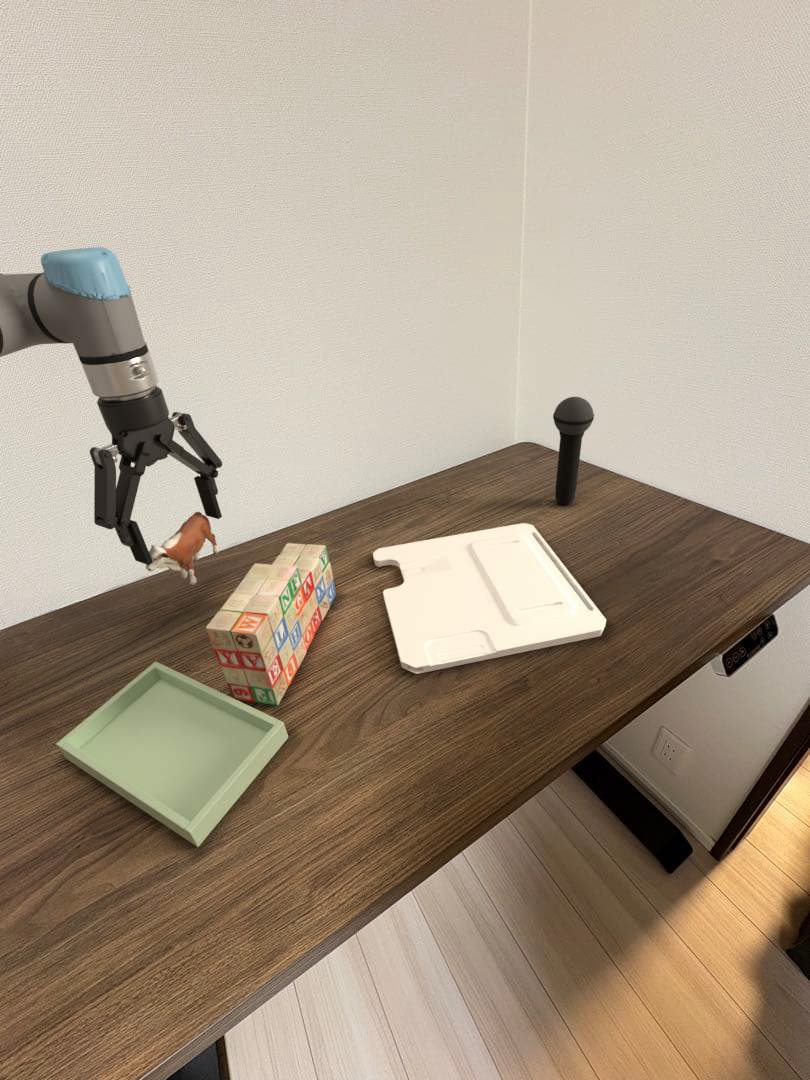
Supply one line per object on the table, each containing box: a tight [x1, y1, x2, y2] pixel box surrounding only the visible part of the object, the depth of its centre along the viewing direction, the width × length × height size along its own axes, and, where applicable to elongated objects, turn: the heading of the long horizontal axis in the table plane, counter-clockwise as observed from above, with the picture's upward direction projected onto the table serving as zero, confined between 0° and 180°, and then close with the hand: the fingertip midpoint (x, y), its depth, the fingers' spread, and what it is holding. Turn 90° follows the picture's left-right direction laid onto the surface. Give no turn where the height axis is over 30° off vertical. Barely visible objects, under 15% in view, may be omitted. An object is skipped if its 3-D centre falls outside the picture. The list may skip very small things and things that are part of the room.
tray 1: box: [55, 661, 289, 848], centre depth 60 cm, size 22×14×3 cm, turn 61°
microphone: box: [552, 396, 595, 506], centre depth 93 cm, size 7×7×20 cm
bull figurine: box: [145, 511, 220, 587], centre depth 78 cm, size 4×13×8 cm, turn 166°
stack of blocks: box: [205, 542, 337, 707], centre depth 70 cm, size 21×6×12 cm, turn 167°
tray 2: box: [372, 522, 607, 675], centre depth 79 cm, size 28×28×2 cm
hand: (181, 537), depth 77 cm, fingers closed on bull figurine, 12 cm apart
